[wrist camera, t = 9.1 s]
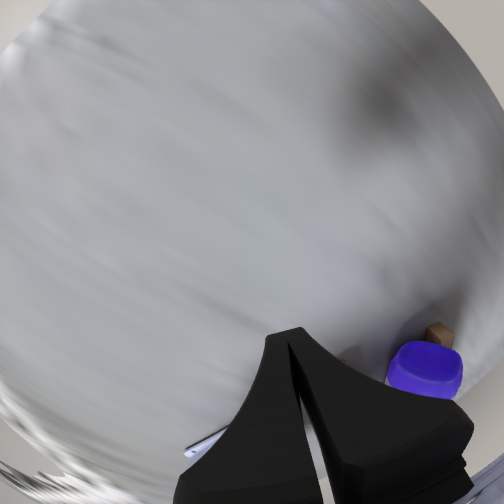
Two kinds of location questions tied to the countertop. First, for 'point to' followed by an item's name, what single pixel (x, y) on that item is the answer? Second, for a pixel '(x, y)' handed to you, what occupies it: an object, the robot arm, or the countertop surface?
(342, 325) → the countertop surface
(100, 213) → the countertop surface
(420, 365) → the bottle
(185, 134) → the countertop surface
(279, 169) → the countertop surface
